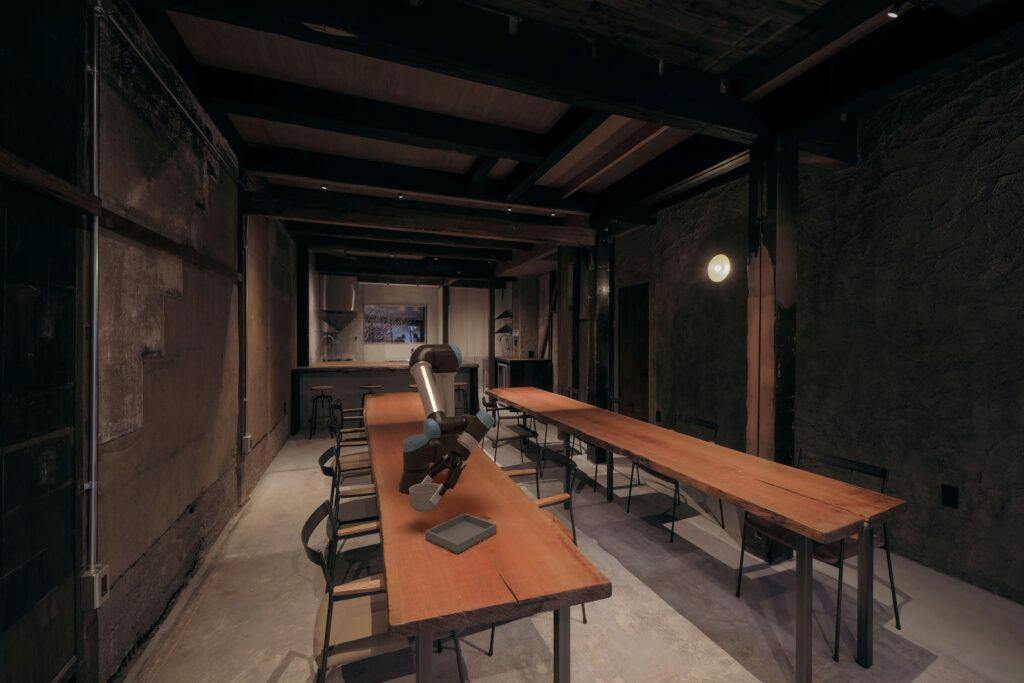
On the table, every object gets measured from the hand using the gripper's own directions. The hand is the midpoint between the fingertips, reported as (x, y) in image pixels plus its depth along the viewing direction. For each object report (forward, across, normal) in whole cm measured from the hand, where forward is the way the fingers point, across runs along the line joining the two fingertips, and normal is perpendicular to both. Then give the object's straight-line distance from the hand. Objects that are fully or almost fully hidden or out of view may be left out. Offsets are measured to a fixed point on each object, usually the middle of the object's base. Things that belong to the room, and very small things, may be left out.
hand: (425, 497), depth 149 cm
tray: (+2, -14, -12) cm, 19 cm away
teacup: (+2, 0, -4) cm, 5 cm away
